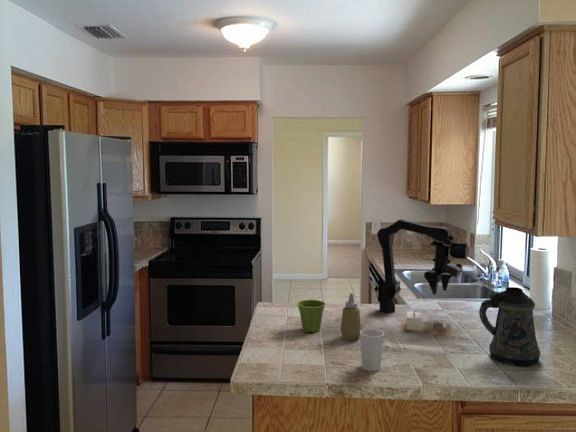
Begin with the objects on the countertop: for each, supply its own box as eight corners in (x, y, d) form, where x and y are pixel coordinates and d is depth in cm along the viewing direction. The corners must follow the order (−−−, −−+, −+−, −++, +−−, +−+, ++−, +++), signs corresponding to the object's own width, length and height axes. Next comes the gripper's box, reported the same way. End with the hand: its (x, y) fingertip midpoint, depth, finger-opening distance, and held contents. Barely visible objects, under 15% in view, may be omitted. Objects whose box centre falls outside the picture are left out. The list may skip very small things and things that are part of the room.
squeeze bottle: (362, 336, 198) (363, 291, 196) (358, 343, 191) (359, 297, 189) (342, 334, 201) (343, 290, 199) (338, 340, 193) (338, 295, 191)
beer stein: (551, 364, 171) (555, 293, 169) (503, 371, 166) (507, 297, 163) (516, 347, 187) (519, 282, 184) (471, 352, 182) (474, 285, 179)
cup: (356, 362, 172) (357, 329, 171) (379, 362, 173) (380, 328, 171) (362, 372, 164) (363, 337, 163) (386, 371, 165) (387, 336, 163)
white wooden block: (442, 330, 201) (443, 323, 200) (432, 328, 204) (433, 321, 203) (445, 329, 202) (446, 322, 202) (435, 327, 205) (435, 319, 205)
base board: (400, 335, 199) (400, 332, 199) (401, 323, 214) (401, 320, 214) (453, 340, 194) (453, 336, 194) (450, 327, 210) (450, 323, 209)
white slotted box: (406, 329, 202) (406, 316, 202) (406, 323, 210) (407, 311, 209) (421, 330, 201) (421, 317, 200) (421, 324, 208) (421, 312, 208)
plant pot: (329, 327, 209) (329, 301, 207) (319, 336, 198) (319, 308, 197) (303, 323, 213) (303, 298, 212) (292, 332, 203) (292, 305, 202)
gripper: (449, 262, 200) (447, 300, 202) (469, 256, 214) (467, 292, 215) (424, 258, 208) (422, 295, 210) (445, 252, 221) (443, 287, 223)
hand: (439, 292), depth 214 cm, fingers open, 9 cm apart
